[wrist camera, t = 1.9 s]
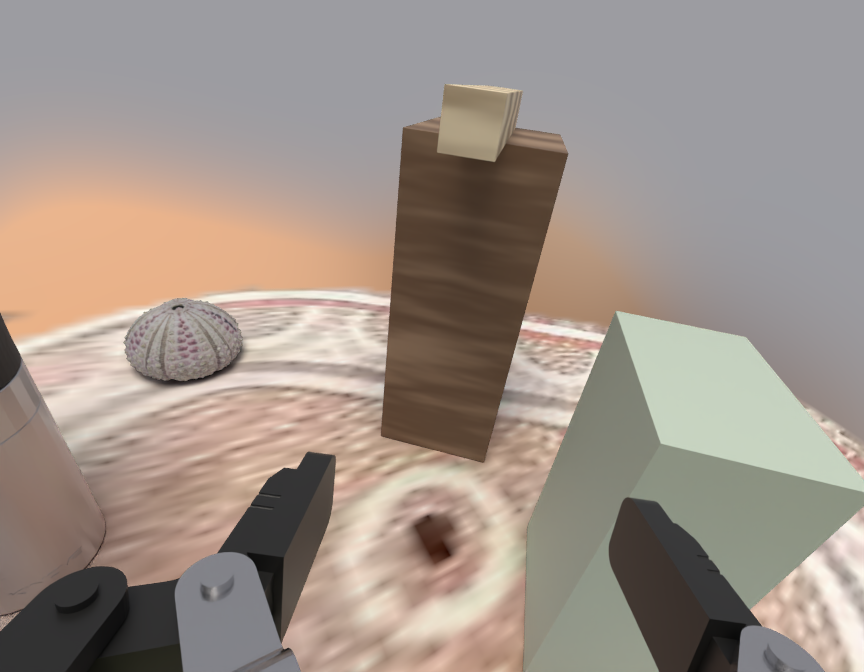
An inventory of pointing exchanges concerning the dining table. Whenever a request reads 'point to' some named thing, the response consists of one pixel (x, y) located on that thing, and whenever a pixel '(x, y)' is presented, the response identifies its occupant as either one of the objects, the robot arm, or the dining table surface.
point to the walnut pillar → (462, 283)
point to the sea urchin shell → (183, 340)
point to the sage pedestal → (675, 485)
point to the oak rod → (477, 120)
